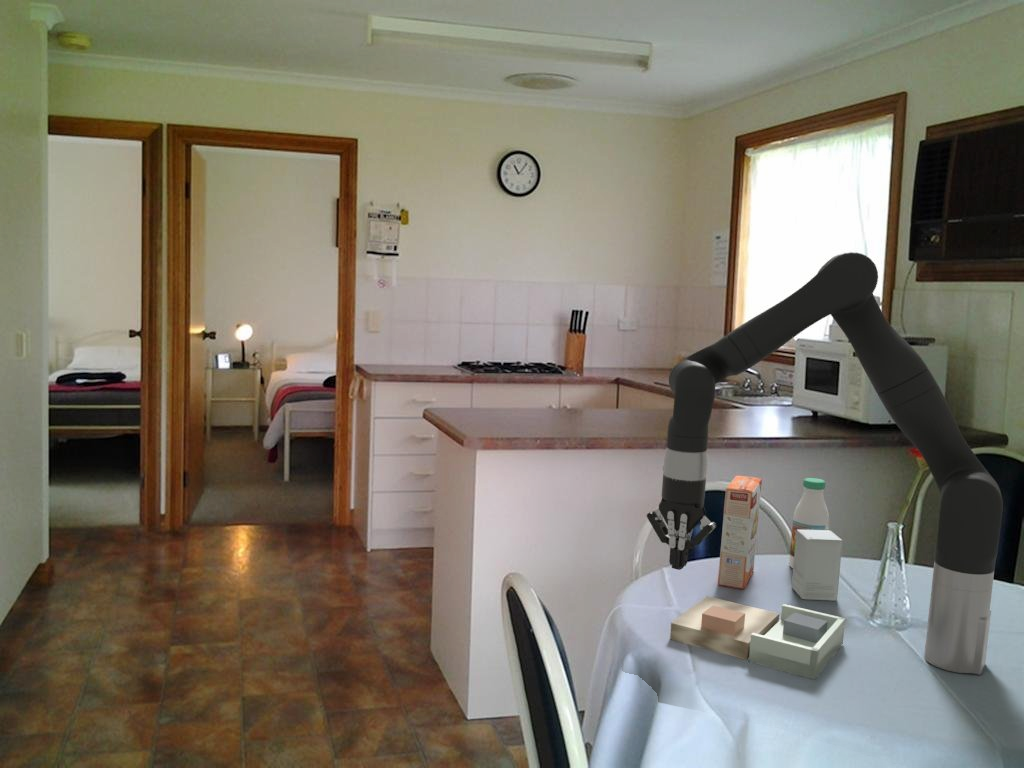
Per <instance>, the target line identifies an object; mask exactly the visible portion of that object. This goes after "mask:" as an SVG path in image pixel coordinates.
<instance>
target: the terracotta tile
mask: <svg viewBox="0 0 1024 768" xmlns="http://www.w3.org/2000/svg"><path fill="white" fill-rule="evenodd" d="M744 622H745V613H742V612H738V611H734V610H730V609H725V608H721V607H717V606H711V607H710V608H709V609H707V610H706V611H705V612H703V613H702V622H701V627H702V628H706V629H710V630H714V631H718V632H721V633H725V634H729V635H733V636H735V635H736V634H737V633H738V632H739V631H740V630H741V629H742V628H744Z"/></svg>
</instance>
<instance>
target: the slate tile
mask: <svg viewBox="0 0 1024 768" xmlns="http://www.w3.org/2000/svg"><path fill="white" fill-rule="evenodd" d="M827 623H828V621H825V620H821V619H817V618H813V617H810V616H806V615H802V614H798V613H793V614H792V615H790V616H789V617H788V618H786V619H785V620H784V626H783V634H785V635H788V636H792V637H796V638H799V639H803V640H806V641H810V642H814V643H817V642H818V641H819V640H820V639H821V638H822V637H823V635H824V634H825V633H826V632H827Z"/></svg>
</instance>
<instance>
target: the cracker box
mask: <svg viewBox="0 0 1024 768" xmlns="http://www.w3.org/2000/svg"><path fill="white" fill-rule="evenodd" d="M762 482H763V479H762V478H760V477H756V476H755V477H754V476H747V475H738V474H737V475H735V476H734V478H733V479H732V480H731V482H730V483H729V484H728V485H727V487H726V488H725V495H724V506H723V518H722V529H721V530H722V532H721V539H720V540H721V541H720V542H721V543H720V553H719V562H718V563H719V567H718V575H717V585H718V586H724V587H729V588H734V589H739V590H745V588H746V586H747V584H748V582H749V580H750V578H751V576H752V574H753V572H754V570H755V569H754V568H755V557H756V548H757V547H756V546H757V536H758V526H759V525H758V524H759V514H760V505H761V504H760V503H761V494H762Z"/></svg>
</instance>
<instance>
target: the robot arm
mask: <svg viewBox="0 0 1024 768" xmlns="http://www.w3.org/2000/svg"><path fill="white" fill-rule="evenodd" d="M878 281H879V272H878V269H877V265H876V264H875V262H874V261H873V260H872V259H871V258H870V257H869V256H867V255H866V254H863V253H860V252H855V251H847V252H841V253H839V254H836V255H835V256H833V257H831V258H829V260H827V262H825V263H824V264H823V265H822V266H821V268H820V269H819V270H818V272H817V273H816V274H815V275H814V276H813V277H811V279H810V280H809V281H807V282H805V284H804V285H803V286H801V287H800V288H799V289H797V290H795V292H793V293H792V294H790V295H788V296H787V297H786V298H785V299H783V300H781V301H779V302H778V303H776V304H775V305H773V306H771V307H770V308H767V309H766V310H764V311H763V312H761V313H759V314H757V315H756V316H754V317H752V318H750V319H749V320H747V321H746V322H744V323H743V324H740V325H739V326H738V327H737V328H734V329H733V330H732V331H730V332H728V334H725V335H724V336H723V337H721V338H720V339H719V340H717V341H716V342H714V343H712V344H710V345H708V346H705V347H703V348H702V349H700V350H698V351H695V352H694V353H692V354H690V355H688V356H686V357H685V358H683V359H682V360H680V361H679V362H678V363H676V364H675V365H674V366H673V367H672V369H671V370H670V372H669V375H668V383H669V384H668V385H669V388H670V390H671V391H672V392H673V394H674V398H673V399H674V400H673V401H674V402H673V409H672V410H673V412H672V416H671V417H670V418H669V422H668V426H667V437H666V448H665V453H664V459H663V466H662V485H661V501H660V502H659V504H658V508H656V509H655V510H651V511H650V512H648V513H647V514H646V518H647V520H648V522H649V524H650V525H651V526H652V528H653V531H654V532H655V534H656V536H657V537H658V540H659V541H660V542H661V543H662V544H667V545H668V546H669V560H668V562H669V565H671V569H674V570H678V571H681V570H682V569H683V568H684V567H686V566H687V564H688V558H689V557H688V554H689V550H692V549H695V547H697V546H699V545H700V544H701V543H702V542H703V541H704V540H705V539H707V537H709V536H710V534H711V533H712V532H714V530H715V529H716V528H717V523H716V522H714V521H711V520H710V519H709V518H708V517H707V516H706V515H707V511H706V508H705V497H706V486H707V485H706V484H707V482H706V481H707V471H708V470H707V469H708V456H707V454H708V439H709V424H710V419H711V415H712V411H713V408H714V402H715V396H716V384H718V383H720V382H721V381H723V380H725V379H726V378H728V377H731V376H738V375H740V374H742V373H744V372H746V371H747V370H748V369H750V368H752V367H754V366H755V365H756V364H757V365H758V363H760V362H762V361H763V360H765V359H766V358H768V357H769V356H771V355H772V354H773V353H775V352H777V350H779V349H780V348H781V347H783V346H784V345H785V344H787V343H789V341H791V340H792V339H793V338H795V337H796V336H798V335H799V334H800V333H802V332H803V331H805V330H806V329H808V328H809V327H811V326H813V325H814V324H816V323H818V322H819V321H821V320H822V319H825V318H826V317H828V316H831V317H832V318H833V320H834V321H835V322H836V324H837V325H838V327H839V328H840V330H842V332H843V333H844V335H845V336H846V339H848V341H849V343H850V345H851V347H852V348H853V351H854V352H855V354H856V357H857V358H858V361H859V363H860V365H861V366H862V368H863V370H864V373H866V376H867V378H868V380H869V381H870V383H871V384H872V387H873V389H874V391H875V393H876V394H877V396H878V398H879V399H880V401H881V403H882V405H883V406H884V408H885V410H886V412H887V413H888V414H889V416H890V417H891V419H892V420H893V421H894V423H895V424H896V426H897V427H898V429H900V431H901V432H902V433H903V434H904V435H905V437H906V438H907V439H908V441H910V442H911V443H912V445H913V446H914V448H916V449H917V451H918V452H919V453H920V455H921V456H922V458H923V460H924V462H925V463H926V465H927V467H928V469H929V470H930V471H929V472H930V474H931V475H932V477H933V478H932V479H934V481H935V483H936V486H937V489H938V491H939V494H940V504H939V505H940V506H939V514H938V515H939V516H938V525H937V533H936V535H937V536H936V543H935V549H934V550H935V552H934V561H933V562H934V564H933V571H932V580H931V581H932V582H931V591H930V600H929V608H928V618H927V630H926V639H925V644H924V659H925V660H926V661H927V662H928V664H929V663H930V664H931V665H933V666H934V667H937V668H939V669H942V670H945V671H948V672H953V673H959V674H973V675H979V676H980V675H982V673H983V669H984V668H985V664H986V660H987V659H986V658H987V650H988V641H989V633H990V626H991V615H992V611H991V605H992V604H991V603H992V593H993V584H994V578H995V577H994V575H995V568H996V560H997V556H998V551H999V543H1000V535H1001V528H1002V521H1003V511H1004V501H1003V496H1002V492H1001V489H1000V486H999V484H998V483H997V481H996V480H995V479H994V478H993V476H992V475H991V474H990V473H989V471H988V470H987V469H986V468H985V466H984V465H983V463H982V462H981V461H980V460H979V458H978V457H977V456H976V454H975V453H974V451H973V450H972V448H971V447H970V445H969V444H968V443H967V441H966V440H965V438H964V436H963V434H962V432H961V431H960V428H959V425H958V423H957V421H956V419H955V417H954V414H953V412H952V410H951V407H950V406H949V403H948V401H947V399H946V397H945V395H944V394H943V392H942V390H941V388H940V386H939V384H938V382H937V380H936V379H935V377H934V376H933V374H932V372H931V371H930V368H929V367H928V366H927V364H926V362H925V361H924V360H923V358H922V357H921V355H920V354H919V353H918V352H917V351H916V350H915V349H914V347H912V345H911V344H910V343H909V342H907V340H905V338H904V337H902V335H901V334H900V333H898V332H897V330H896V329H894V327H893V326H892V325H891V324H890V323H889V321H888V320H887V318H886V316H885V315H884V313H883V312H882V310H881V308H880V306H879V303H878V301H877V300H876V298H875V295H874V294H873V293H874V292H875V290H876V288H877V285H878ZM663 519H664V520H663ZM665 523H666V524H665ZM699 524H700V525H699ZM698 525H699V529H700V530H699V532H698V533H697V534H696V535H695V536H694V537H693V538H692V534H693V533H694V532H693V531H694V529H695V528H696V527H697V526H698Z"/></svg>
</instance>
